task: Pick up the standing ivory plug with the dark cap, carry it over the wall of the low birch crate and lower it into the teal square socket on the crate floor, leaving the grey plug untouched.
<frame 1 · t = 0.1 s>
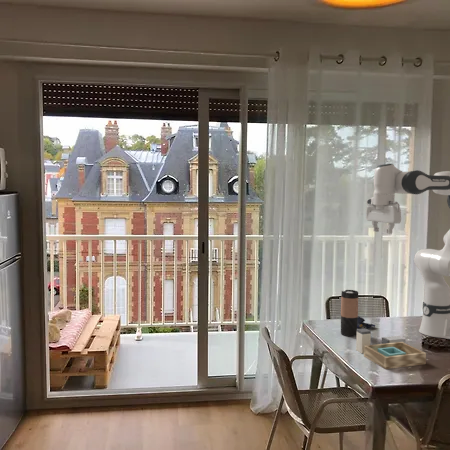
hand: (382, 232, 205), 48 cm above the table, tool pointing down, fingers open, 8 cm apart
teal socket: (391, 361, 181), resting on birch crate
birch crate: (393, 360, 183), on the table
ivory connector: (363, 351, 192), on the table
grey plug: (394, 347, 198), on the table
snack package: (361, 328, 226), on the table
travel mug: (348, 334, 215), on the table
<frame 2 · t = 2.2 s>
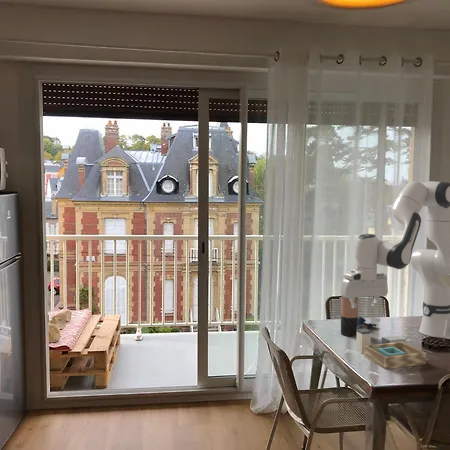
hand: (364, 307, 191), 18 cm above the table, tool pointing down, fingers open, 8 cm apart
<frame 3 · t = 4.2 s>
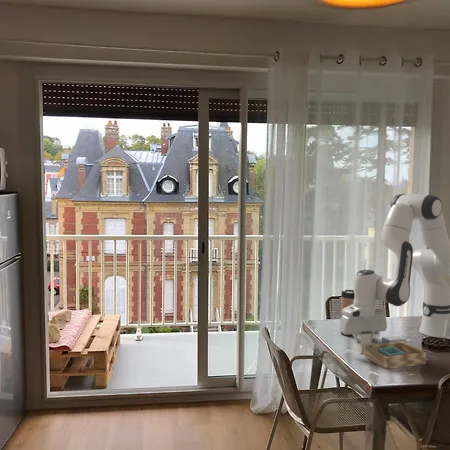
hand: (363, 342, 192), 4 cm above the table, tool pointing down, fingers closed on ivory connector, 4 cm apart
ivory connector: (363, 351, 192), on the table, touching gripper
snack package: (366, 329, 225), on the table
everything else where it was.
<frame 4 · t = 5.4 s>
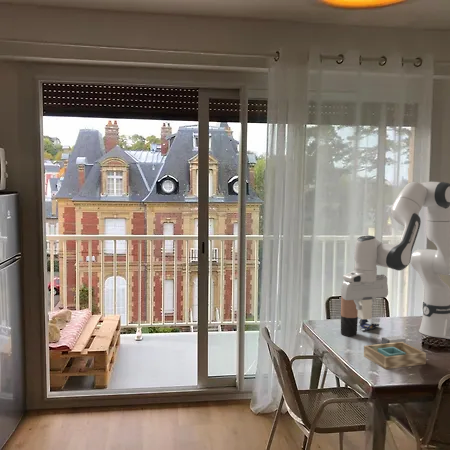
hand: (364, 308, 191), 18 cm above the table, tool pointing down, fingers closed on ivory connector, 4 cm apart
ivory connector: (364, 317, 191), point 14 cm above the table, touching gripper
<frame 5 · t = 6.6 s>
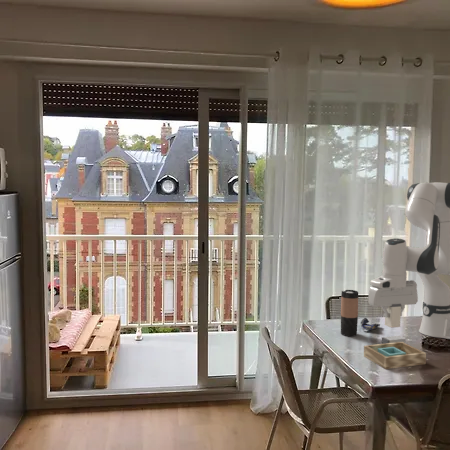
hand: (392, 316, 180), 18 cm above the table, tool pointing down, fingers closed on ivory connector, 4 cm apart
ivory connector: (392, 325, 180), point 14 cm above the table, touching gripper
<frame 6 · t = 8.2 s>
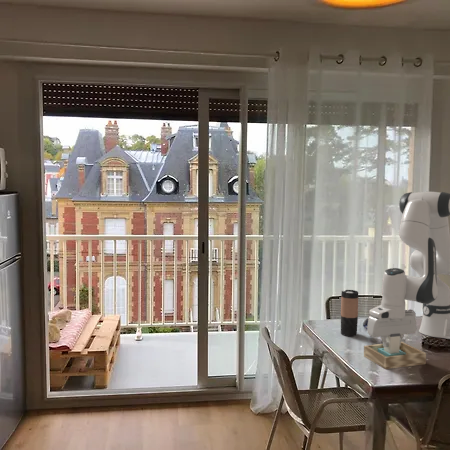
hand: (391, 346, 180), 6 cm above the table, tool pointing down, fingers closed on ivory connector, 4 cm apart
ivory connector: (391, 355, 181), point 3 cm above the table, touching gripper
snack package: (371, 330, 223), on the table
everything else where it was.
when the fingers open (6 cm above the table, at t = 8.6 s): ivory connector drops 1 cm, resting on birch crate.
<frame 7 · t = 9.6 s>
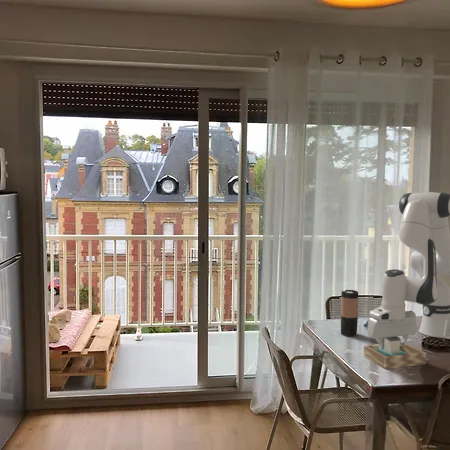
hand: (391, 347, 181), 6 cm above the table, tool pointing down, fingers open, 8 cm apart
ivory connector: (391, 359, 181), point 1 cm above the table, touching birch crate
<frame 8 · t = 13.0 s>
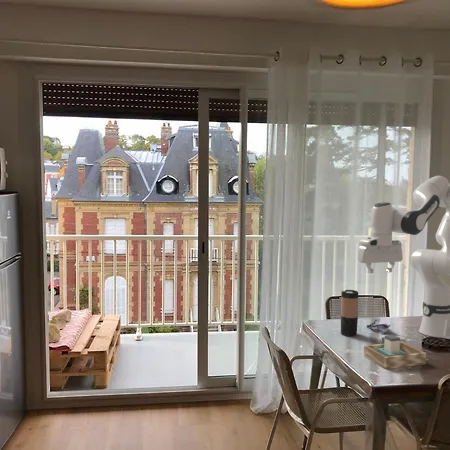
hand: (380, 272, 200), 31 cm above the table, tool pointing down, fingers open, 8 cm apart
snack package: (378, 331, 222), on the table
everything else where it was.
at the end: ivory connector 0.1 cm off-centre on the teal socket, point 0.8 cm above the teal socket's base; ivory connector tilted 0°; the gripper is holding nothing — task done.
